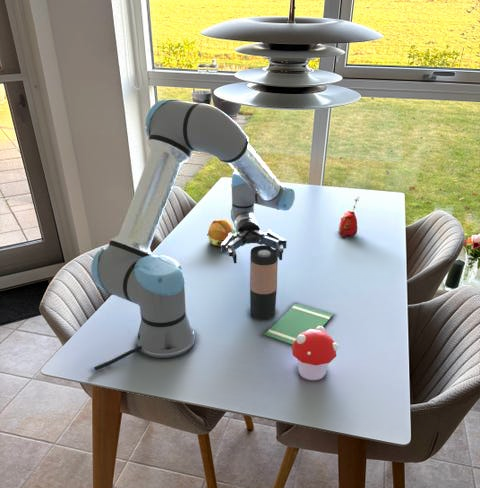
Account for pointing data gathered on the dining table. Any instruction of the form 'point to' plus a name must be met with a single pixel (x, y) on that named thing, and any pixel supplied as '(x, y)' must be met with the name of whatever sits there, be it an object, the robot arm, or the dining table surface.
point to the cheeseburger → (219, 231)
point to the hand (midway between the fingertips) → (258, 257)
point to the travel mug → (263, 281)
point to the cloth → (297, 323)
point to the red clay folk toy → (348, 224)
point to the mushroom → (314, 353)
